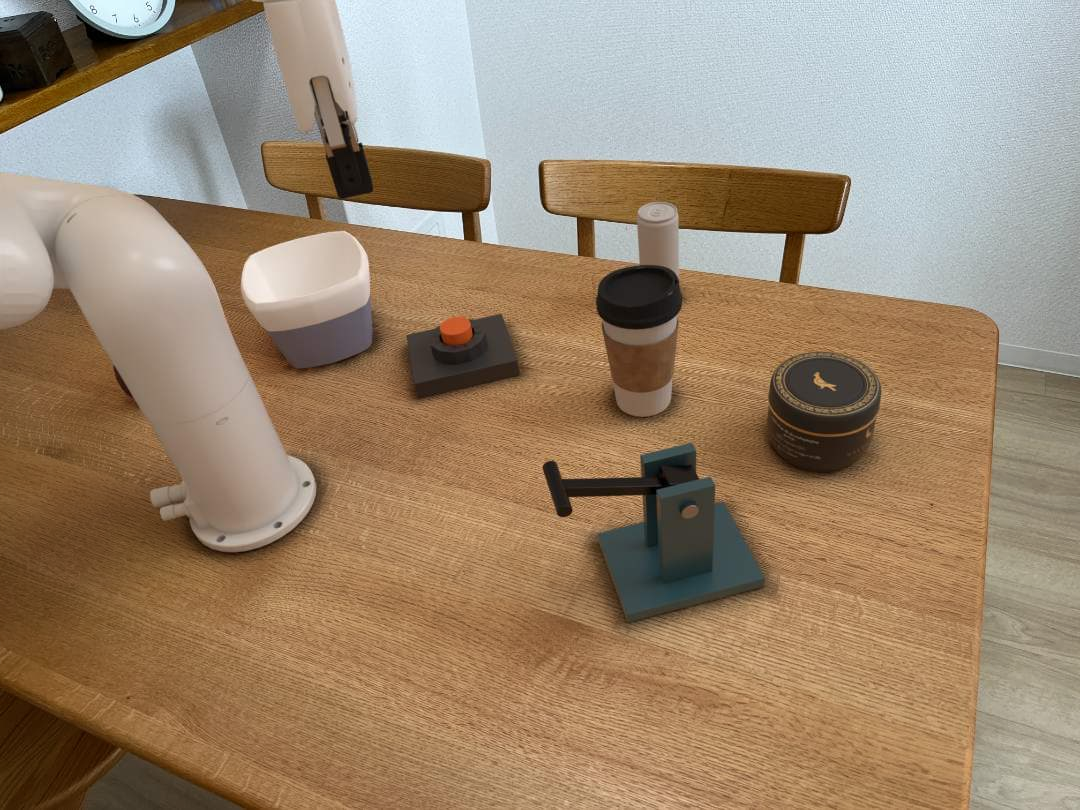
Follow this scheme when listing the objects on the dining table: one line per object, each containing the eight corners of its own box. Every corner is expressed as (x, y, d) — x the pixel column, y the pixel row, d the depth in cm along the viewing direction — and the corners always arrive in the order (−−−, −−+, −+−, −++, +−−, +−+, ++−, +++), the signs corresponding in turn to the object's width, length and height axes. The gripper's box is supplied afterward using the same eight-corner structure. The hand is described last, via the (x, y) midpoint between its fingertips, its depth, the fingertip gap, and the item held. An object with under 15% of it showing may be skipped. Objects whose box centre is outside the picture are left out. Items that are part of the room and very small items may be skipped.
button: (444, 349, 93) (441, 337, 92) (440, 332, 96) (437, 320, 94) (475, 342, 93) (472, 330, 92) (470, 325, 96) (467, 313, 95)
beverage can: (684, 289, 103) (683, 203, 95) (672, 310, 99) (670, 223, 92) (647, 284, 104) (644, 199, 97) (635, 304, 101) (630, 218, 94)
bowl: (377, 294, 111) (356, 221, 103) (398, 355, 99) (375, 278, 92) (265, 325, 108) (235, 252, 101) (273, 392, 97) (240, 315, 89)
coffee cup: (680, 427, 84) (678, 307, 74) (599, 423, 86) (587, 306, 76) (685, 375, 90) (685, 258, 80) (610, 373, 92) (600, 258, 82)
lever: (554, 523, 60) (560, 500, 59) (539, 477, 64) (545, 454, 62) (699, 518, 63) (709, 496, 62) (678, 474, 67) (686, 453, 66)
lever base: (627, 623, 67) (619, 530, 59) (598, 541, 74) (587, 449, 66) (764, 587, 68) (774, 491, 60) (723, 510, 75) (727, 415, 67)
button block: (418, 398, 92) (410, 371, 90) (410, 349, 100) (402, 322, 97) (520, 375, 93) (515, 347, 91) (504, 327, 101) (499, 301, 98)
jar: (839, 493, 74) (850, 433, 70) (745, 449, 80) (748, 390, 75) (889, 432, 80) (902, 372, 75) (796, 395, 85) (803, 336, 80)
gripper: (246, -44, 66) (314, 167, 78) (233, 0, 55) (315, 239, 67) (337, -61, 67) (391, 151, 79) (343, -21, 55) (404, 220, 67)
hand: (356, 191), depth 72 cm, fingers closed
